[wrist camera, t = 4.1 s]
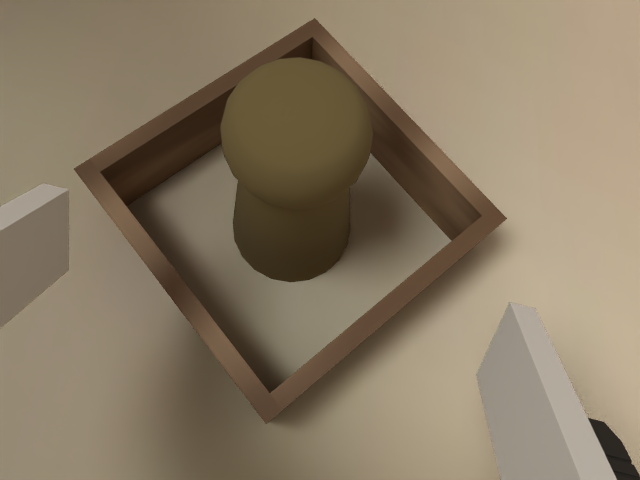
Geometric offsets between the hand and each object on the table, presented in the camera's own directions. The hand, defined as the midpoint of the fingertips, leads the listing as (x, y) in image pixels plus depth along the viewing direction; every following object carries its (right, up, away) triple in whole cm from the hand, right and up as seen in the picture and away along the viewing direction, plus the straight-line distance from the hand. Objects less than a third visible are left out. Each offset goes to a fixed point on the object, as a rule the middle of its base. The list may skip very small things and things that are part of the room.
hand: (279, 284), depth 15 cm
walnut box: (0, +2, +11) cm, 12 cm away
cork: (0, +2, +12) cm, 12 cm away
